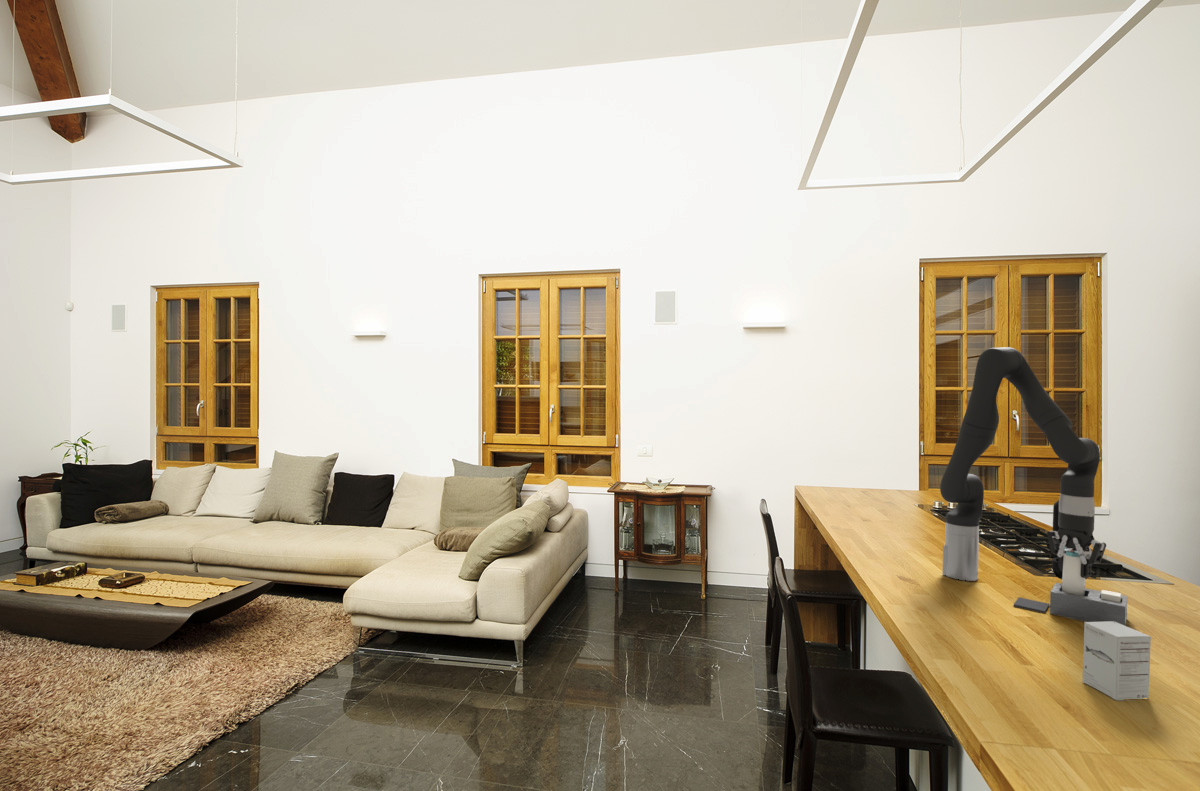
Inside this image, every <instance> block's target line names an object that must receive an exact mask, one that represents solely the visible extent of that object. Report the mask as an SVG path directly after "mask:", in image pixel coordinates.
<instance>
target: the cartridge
mask: <svg viewBox="0 0 1200 791" xmlns="http://www.w3.org/2000/svg"><path fill="white" fill-rule="evenodd" d="M1081 564H1083V563H1082V561H1081V557H1080V555H1078V552H1077V551H1076V550H1072V551H1066V553H1064V558H1063V576H1062V579H1061V584H1062V592H1066V593H1071V594H1076V595H1081V596H1084V595H1085V588H1086V579H1085V578H1082V577H1081Z"/></svg>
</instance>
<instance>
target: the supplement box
mask: <svg viewBox="0 0 1200 791" xmlns="http://www.w3.org/2000/svg"><path fill="white" fill-rule="evenodd" d="M1083 630H1084V631H1083V656H1082V682H1083V683H1084V684H1087V685H1088V686H1090V687H1091V688H1094V689H1096V690H1098V691H1100V692H1101V693H1103V694H1105V695H1106V696H1108V697H1110V698H1112V699H1113V700H1115V701H1125V700H1124V699H1143V698H1149V696H1150V695H1149V694H1150V673H1151V672H1150V670H1151V668H1150V667H1151V645H1152V643H1151V640H1152V636H1151V635H1148V634H1145V633H1143V632H1141V631H1140V630H1139V631H1138V630H1136V629H1134V628H1132V627H1130V626H1124V625H1122V624H1120V623H1117V622H1114V621H1105V622H1084V628H1083Z"/></svg>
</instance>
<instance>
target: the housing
mask: <svg viewBox="0 0 1200 791" xmlns="http://www.w3.org/2000/svg"><path fill="white" fill-rule="evenodd" d="M1101 591H1102V590H1097V589H1090V588H1086V587H1085V595H1084V596H1081V595H1076V594H1071V593H1066V592H1062V582H1061V583H1060V582H1055V583H1054V585H1053V586H1052V589H1051V590H1050V593H1049V594H1050V597H1049V600H1050V601H1049V602H1050V603H1049V614H1050V615H1052V614H1054V616H1057V615H1059V616H1058V617H1061V616H1062V618H1067V619H1071V620H1075V621H1079V620H1080V622H1084V623H1085V622H1105V621H1114V622H1117V623H1120V624H1122V625H1124V626H1126V625H1127V621H1126V620H1128V596H1127V595H1124V594H1121V602H1116V601H1111V600H1106V599H1101Z"/></svg>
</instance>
